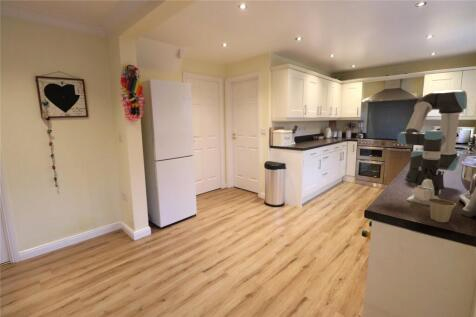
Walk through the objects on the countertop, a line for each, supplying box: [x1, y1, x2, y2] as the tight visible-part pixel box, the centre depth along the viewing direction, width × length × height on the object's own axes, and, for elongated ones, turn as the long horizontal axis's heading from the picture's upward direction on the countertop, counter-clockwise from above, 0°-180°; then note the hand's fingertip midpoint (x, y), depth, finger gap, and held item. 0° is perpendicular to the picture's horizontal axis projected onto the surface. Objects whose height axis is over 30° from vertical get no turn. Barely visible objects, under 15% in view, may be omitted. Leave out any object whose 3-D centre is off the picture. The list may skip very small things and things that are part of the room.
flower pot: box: [428, 198, 457, 223], centre depth 105 cm, size 9×9×9 cm
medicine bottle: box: [422, 175, 442, 195], centre depth 145 cm, size 7×7×12 cm
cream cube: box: [413, 186, 433, 201], centre depth 130 cm, size 7×7×7 cm
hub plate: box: [406, 189, 442, 207], centre depth 130 cm, size 16×12×6 cm
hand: (426, 198), depth 130 cm, fingers closed on cream cube, 8 cm apart
